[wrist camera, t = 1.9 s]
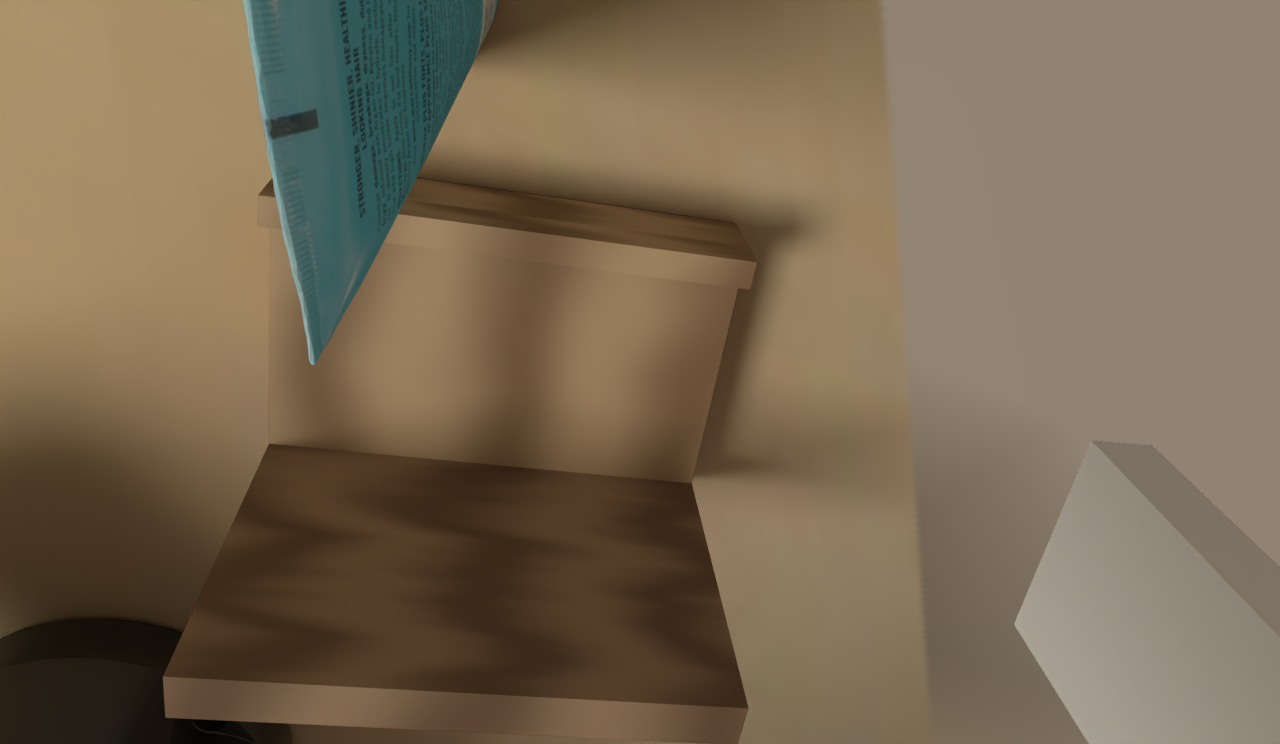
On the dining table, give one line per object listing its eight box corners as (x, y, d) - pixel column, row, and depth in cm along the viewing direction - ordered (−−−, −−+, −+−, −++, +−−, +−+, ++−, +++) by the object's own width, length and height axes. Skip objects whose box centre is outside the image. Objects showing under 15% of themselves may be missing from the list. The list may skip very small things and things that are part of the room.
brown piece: (284, 442, 38) (165, 717, 26) (287, 159, 33) (141, 336, 21) (676, 479, 41) (737, 744, 29) (735, 223, 36) (840, 412, 23)
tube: (320, -136, 29) (25, -132, 12) (481, -149, 29) (408, -162, 12) (371, 111, 33) (196, 379, 16) (513, 97, 33) (492, 347, 16)
